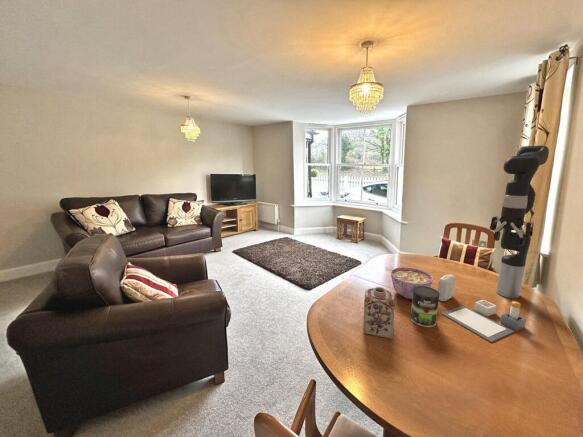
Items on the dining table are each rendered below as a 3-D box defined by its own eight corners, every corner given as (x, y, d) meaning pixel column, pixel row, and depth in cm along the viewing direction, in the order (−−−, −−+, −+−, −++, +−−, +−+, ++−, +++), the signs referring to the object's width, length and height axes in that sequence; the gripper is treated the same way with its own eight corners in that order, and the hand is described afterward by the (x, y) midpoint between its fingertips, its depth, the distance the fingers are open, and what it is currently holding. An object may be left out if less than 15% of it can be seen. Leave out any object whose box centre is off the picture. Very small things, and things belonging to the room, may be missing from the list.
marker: (510, 321, 110) (514, 300, 107) (518, 325, 107) (522, 303, 105) (506, 323, 109) (510, 302, 106) (514, 327, 106) (518, 305, 104)
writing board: (463, 306, 122) (463, 305, 122) (514, 332, 104) (514, 330, 103) (441, 313, 117) (441, 312, 117) (491, 342, 98) (491, 341, 98)
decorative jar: (391, 322, 112) (394, 284, 108) (393, 339, 101) (396, 298, 97) (363, 317, 116) (365, 281, 112) (362, 333, 105) (363, 294, 101)
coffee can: (438, 329, 106) (441, 299, 103) (411, 324, 110) (414, 295, 107) (434, 315, 116) (437, 287, 113) (409, 311, 119) (411, 284, 116)
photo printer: (445, 293, 135) (448, 271, 132) (454, 296, 131) (457, 274, 129) (435, 299, 129) (437, 276, 127) (444, 302, 126) (447, 279, 123)
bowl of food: (388, 301, 128) (390, 280, 126) (389, 283, 146) (390, 265, 144) (433, 308, 121) (435, 286, 118) (428, 289, 139) (430, 269, 137)
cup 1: (481, 307, 122) (483, 299, 121) (495, 313, 116) (496, 305, 115) (474, 309, 119) (475, 302, 119) (487, 316, 114) (488, 308, 113)
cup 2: (508, 319, 112) (509, 311, 111) (524, 327, 106) (526, 318, 105) (500, 323, 109) (501, 314, 109) (516, 331, 104) (517, 322, 103)
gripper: (541, 207, 100) (533, 246, 104) (500, 202, 113) (494, 237, 117) (530, 209, 97) (522, 249, 101) (489, 204, 110) (484, 239, 114)
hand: (507, 243), depth 109 cm, fingers open, 8 cm apart
